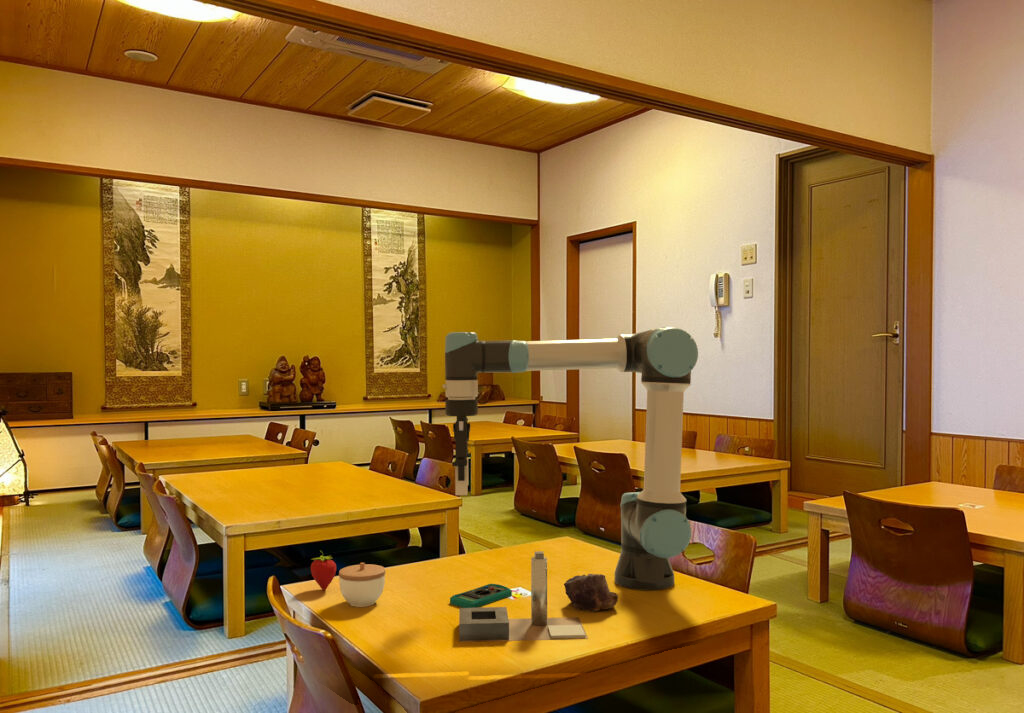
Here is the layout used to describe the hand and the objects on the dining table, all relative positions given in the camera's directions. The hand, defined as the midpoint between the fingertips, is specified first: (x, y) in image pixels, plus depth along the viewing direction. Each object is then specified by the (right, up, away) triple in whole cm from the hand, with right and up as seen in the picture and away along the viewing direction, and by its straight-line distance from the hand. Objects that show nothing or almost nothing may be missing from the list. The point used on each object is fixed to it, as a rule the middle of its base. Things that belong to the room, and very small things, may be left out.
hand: (462, 490), depth 178 cm
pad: (+23, -26, -20) cm, 40 cm away
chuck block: (+6, -26, -19) cm, 33 cm away
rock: (+29, -27, -4) cm, 40 cm away
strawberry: (-35, -27, +12) cm, 46 cm away
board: (+14, -27, -18) cm, 35 cm away
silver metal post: (+17, -26, -14) cm, 35 cm away
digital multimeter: (+4, -28, +3) cm, 28 cm away
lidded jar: (-24, -27, +2) cm, 36 cm away
